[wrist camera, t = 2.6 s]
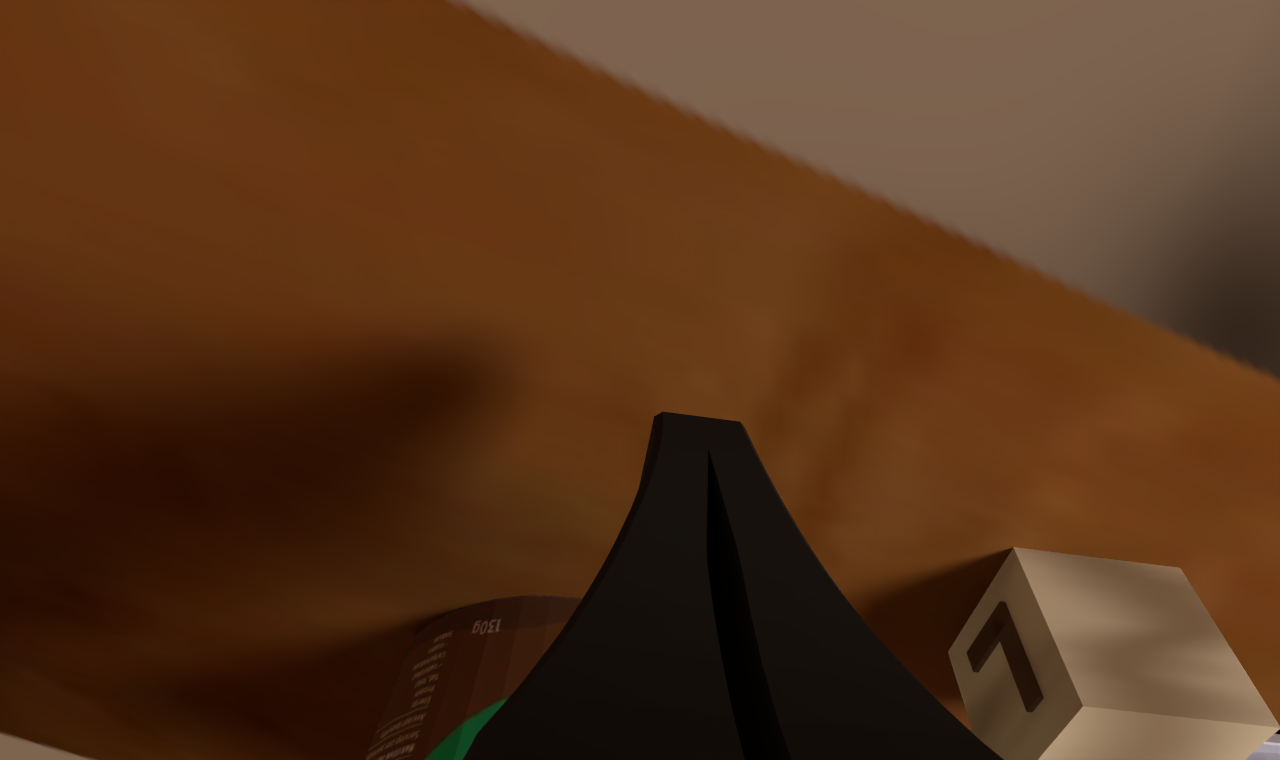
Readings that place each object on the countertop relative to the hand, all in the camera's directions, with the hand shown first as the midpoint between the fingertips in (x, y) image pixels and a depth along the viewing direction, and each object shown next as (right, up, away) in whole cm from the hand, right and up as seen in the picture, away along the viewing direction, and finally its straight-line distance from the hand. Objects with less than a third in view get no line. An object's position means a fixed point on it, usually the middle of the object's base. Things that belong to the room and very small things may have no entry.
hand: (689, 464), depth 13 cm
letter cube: (+11, -5, +10) cm, 15 cm away
